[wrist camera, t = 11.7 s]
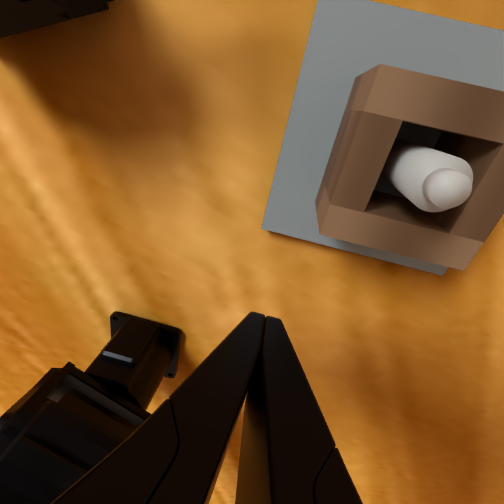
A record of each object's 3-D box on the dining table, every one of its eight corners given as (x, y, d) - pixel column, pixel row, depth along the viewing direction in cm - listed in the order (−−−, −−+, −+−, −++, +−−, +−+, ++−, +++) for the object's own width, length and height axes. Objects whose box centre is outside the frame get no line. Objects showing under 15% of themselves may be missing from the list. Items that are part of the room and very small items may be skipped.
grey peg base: (436, 267, 19) (513, 361, 12) (263, 223, 19) (241, 287, 12) (572, 54, 13) (878, -6, 6) (319, -3, 13) (337, -117, 7)
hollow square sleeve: (314, 201, 17) (319, 234, 12) (355, 77, 14) (380, 63, 9) (421, 227, 17) (464, 271, 12) (487, 107, 13) (577, 107, 9)
